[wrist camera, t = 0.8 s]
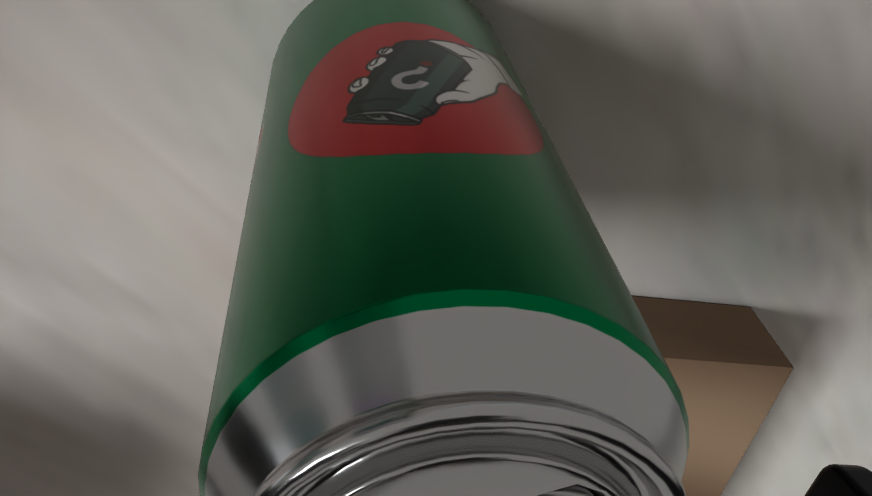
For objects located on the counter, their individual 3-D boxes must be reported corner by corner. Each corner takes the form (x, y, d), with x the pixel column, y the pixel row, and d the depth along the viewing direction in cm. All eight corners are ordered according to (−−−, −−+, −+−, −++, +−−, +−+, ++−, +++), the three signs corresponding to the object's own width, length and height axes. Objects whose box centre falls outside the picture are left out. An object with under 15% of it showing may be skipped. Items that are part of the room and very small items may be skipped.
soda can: (221, 62, 16) (47, 577, 6) (417, -88, 15) (571, 265, 5) (367, 222, 19) (402, 767, 9) (544, 106, 18) (809, 587, 8)
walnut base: (616, 568, 28) (639, 635, 26) (280, 561, 26) (275, 633, 24) (750, 306, 22) (793, 367, 20) (319, 267, 20) (317, 331, 17)
